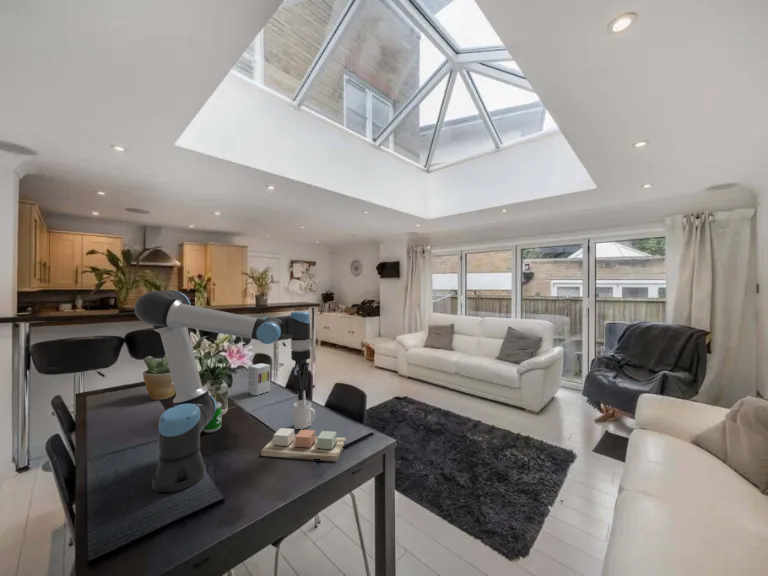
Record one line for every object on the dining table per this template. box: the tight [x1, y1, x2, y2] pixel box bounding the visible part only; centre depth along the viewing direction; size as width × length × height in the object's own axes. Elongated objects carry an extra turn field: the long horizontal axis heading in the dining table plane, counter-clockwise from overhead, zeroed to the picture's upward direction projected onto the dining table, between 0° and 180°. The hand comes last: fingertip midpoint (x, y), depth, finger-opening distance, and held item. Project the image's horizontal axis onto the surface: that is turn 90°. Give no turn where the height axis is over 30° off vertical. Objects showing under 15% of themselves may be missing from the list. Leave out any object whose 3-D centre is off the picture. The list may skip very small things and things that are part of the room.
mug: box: [293, 400, 316, 430], centre depth 143 cm, size 12×8×10 cm, turn 53°
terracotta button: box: [295, 429, 316, 449], centre depth 124 cm, size 6×6×4 cm
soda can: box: [202, 400, 223, 434], centre depth 140 cm, size 8×8×12 cm
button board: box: [260, 433, 347, 462], centre depth 124 cm, size 14×30×2 cm, turn 83°
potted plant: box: [142, 354, 176, 401], centre depth 180 cm, size 18×19×25 cm
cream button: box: [273, 427, 295, 447], centre depth 125 cm, size 6×6×4 cm
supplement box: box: [247, 362, 271, 395], centre depth 188 cm, size 10×9×17 cm
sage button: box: [317, 430, 337, 450], centre depth 123 cm, size 6×6×4 cm
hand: (301, 406), depth 126 cm, fingers closed
